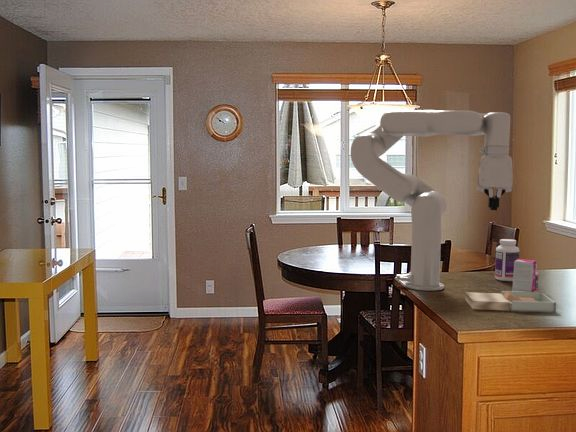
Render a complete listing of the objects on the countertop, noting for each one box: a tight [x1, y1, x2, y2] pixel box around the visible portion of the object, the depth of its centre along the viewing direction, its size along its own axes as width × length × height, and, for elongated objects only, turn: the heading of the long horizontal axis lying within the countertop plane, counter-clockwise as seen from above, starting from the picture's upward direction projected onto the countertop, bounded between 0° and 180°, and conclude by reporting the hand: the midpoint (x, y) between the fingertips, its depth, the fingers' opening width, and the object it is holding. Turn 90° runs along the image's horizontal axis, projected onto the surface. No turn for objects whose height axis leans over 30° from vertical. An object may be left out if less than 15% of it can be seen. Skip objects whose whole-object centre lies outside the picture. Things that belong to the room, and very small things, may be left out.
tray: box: [500, 290, 557, 314], centre depth 195 cm, size 12×14×3 cm
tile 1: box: [503, 290, 521, 302], centre depth 195 cm, size 4×4×2 cm
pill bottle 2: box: [534, 264, 540, 292], centre depth 217 cm, size 5×5×9 cm
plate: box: [465, 291, 511, 312], centre depth 196 cm, size 10×12×2 cm
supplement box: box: [511, 258, 537, 292], centre depth 209 cm, size 6×6×12 cm
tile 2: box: [519, 297, 536, 302], centre depth 195 cm, size 4×4×2 cm
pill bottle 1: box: [494, 238, 520, 282], centre depth 236 cm, size 8×8×14 cm
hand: (493, 209), depth 210 cm, fingers closed
